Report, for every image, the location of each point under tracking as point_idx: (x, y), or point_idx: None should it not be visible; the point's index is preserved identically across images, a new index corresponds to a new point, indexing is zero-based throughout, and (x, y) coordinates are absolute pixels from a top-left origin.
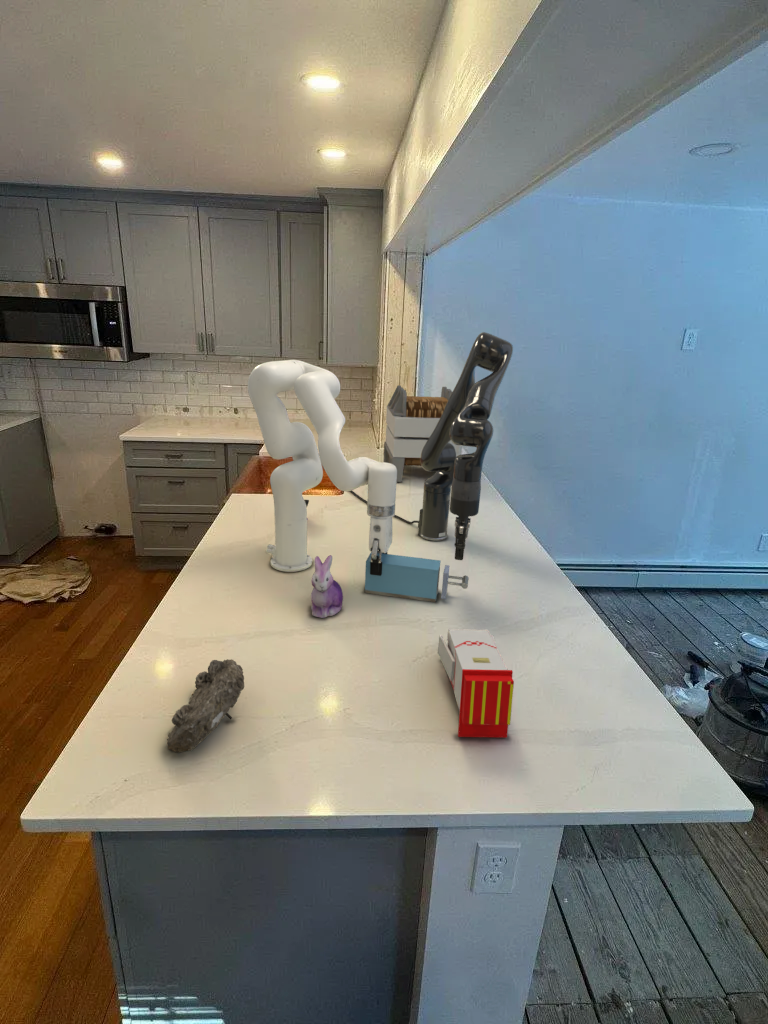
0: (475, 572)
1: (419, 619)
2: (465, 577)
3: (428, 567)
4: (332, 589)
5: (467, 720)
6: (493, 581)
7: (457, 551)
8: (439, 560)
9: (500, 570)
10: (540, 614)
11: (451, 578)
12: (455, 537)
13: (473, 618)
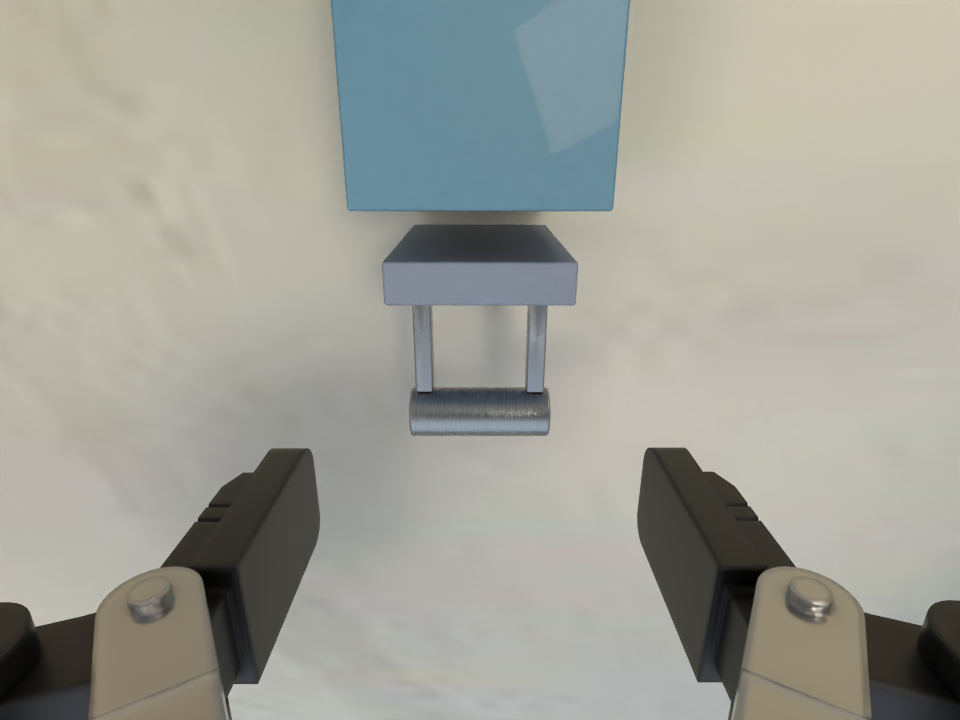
0: (885, 408)
1: (130, 103)
2: (509, 421)
3: (376, 85)
4: None
5: None
6: (763, 509)
7: (184, 552)
8: (607, 197)
9: (919, 542)
10: (439, 693)
11: (528, 305)
12: (176, 687)
13: (283, 421)
